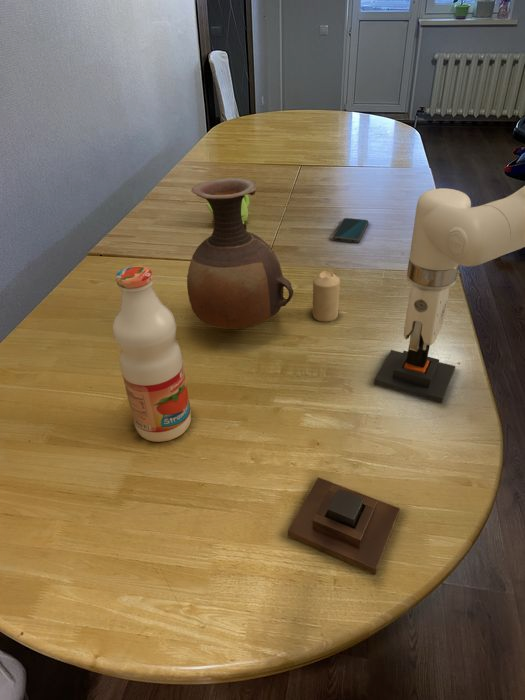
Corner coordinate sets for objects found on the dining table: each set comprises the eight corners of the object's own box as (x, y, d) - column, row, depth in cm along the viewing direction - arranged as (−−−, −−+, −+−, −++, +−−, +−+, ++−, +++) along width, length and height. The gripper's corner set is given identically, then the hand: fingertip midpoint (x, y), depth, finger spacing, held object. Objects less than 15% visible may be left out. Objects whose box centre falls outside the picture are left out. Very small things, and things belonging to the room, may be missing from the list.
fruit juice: (149, 401, 91) (117, 256, 75) (199, 408, 89) (178, 260, 73) (126, 439, 84) (85, 287, 68) (180, 447, 82) (152, 292, 66)
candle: (339, 321, 110) (341, 279, 104) (313, 322, 110) (314, 280, 104) (336, 308, 115) (338, 267, 109) (311, 309, 115) (312, 268, 109)
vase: (308, 327, 109) (310, 185, 91) (240, 369, 98) (228, 216, 80) (235, 292, 122) (225, 162, 105) (169, 325, 112) (145, 186, 94)
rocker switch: (363, 507, 68) (363, 498, 67) (353, 528, 66) (354, 519, 65) (337, 497, 70) (338, 488, 69) (327, 517, 67) (327, 509, 66)
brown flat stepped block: (399, 513, 70) (401, 499, 69) (375, 574, 63) (377, 560, 62) (317, 482, 75) (318, 468, 73) (287, 536, 68) (287, 521, 66)
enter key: (428, 368, 94) (429, 360, 93) (423, 379, 91) (424, 371, 90) (408, 363, 95) (409, 355, 94) (402, 374, 92) (404, 366, 91)
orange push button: (454, 371, 95) (457, 358, 93) (441, 403, 88) (444, 390, 86) (390, 354, 100) (392, 341, 98) (373, 384, 93) (375, 371, 91)
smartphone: (331, 240, 144) (331, 237, 143) (343, 220, 155) (344, 217, 155) (358, 243, 142) (359, 240, 141) (369, 222, 153) (369, 219, 153)
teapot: (215, 215, 163) (212, 184, 157) (251, 215, 162) (249, 184, 156) (208, 230, 154) (204, 197, 148) (246, 230, 152) (244, 198, 147)
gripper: (445, 297, 75) (426, 393, 85) (466, 256, 85) (447, 346, 96) (394, 286, 78) (382, 381, 88) (420, 248, 88) (407, 336, 99)
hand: (416, 363), depth 92 cm, fingers closed
